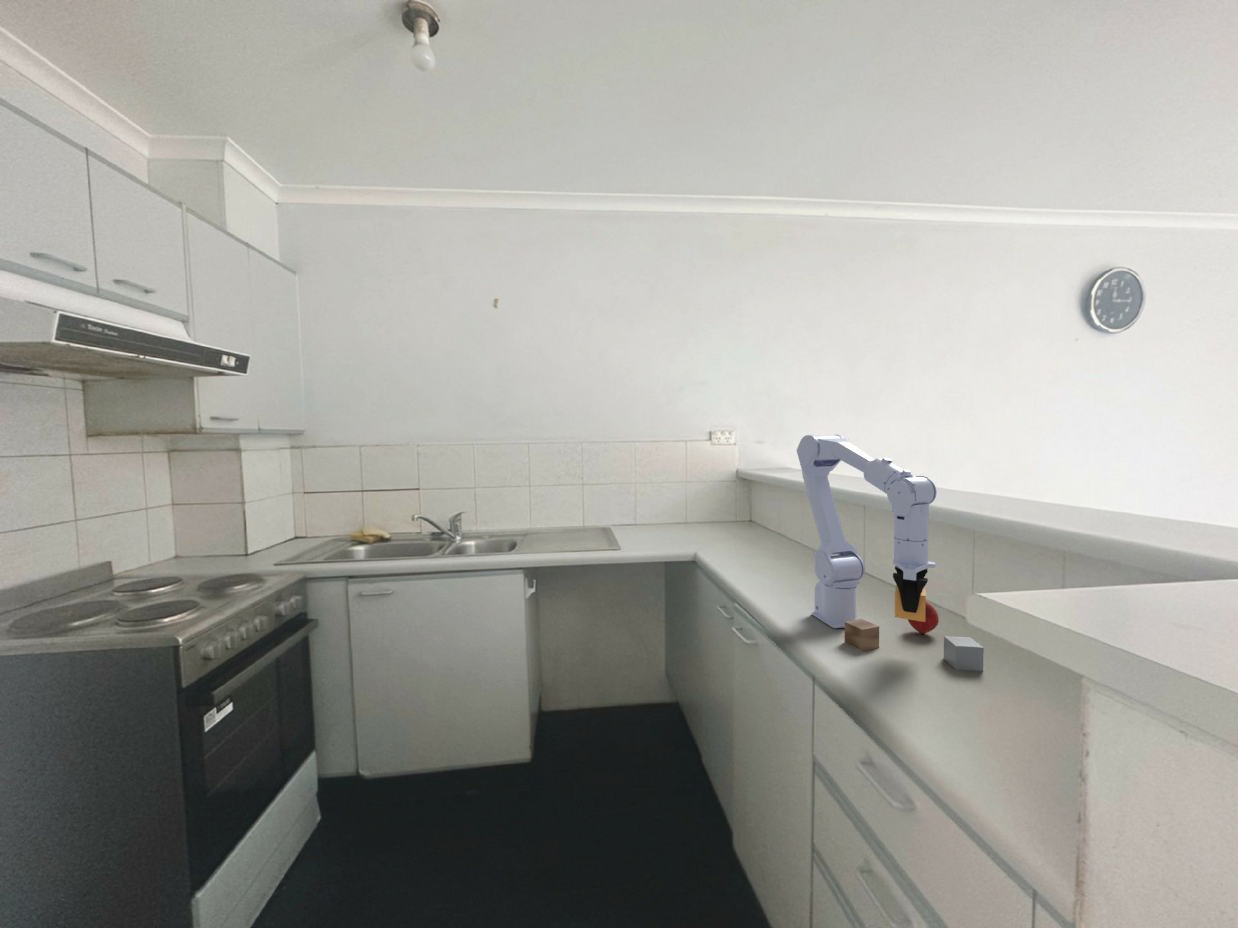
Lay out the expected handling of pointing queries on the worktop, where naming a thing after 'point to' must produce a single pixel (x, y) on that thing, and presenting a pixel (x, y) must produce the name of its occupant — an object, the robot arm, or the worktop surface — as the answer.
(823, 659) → the worktop surface
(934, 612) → the onion
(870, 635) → the walnut block
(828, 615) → the robot arm
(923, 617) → the orange block
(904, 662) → the worktop surface
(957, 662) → the slate block
